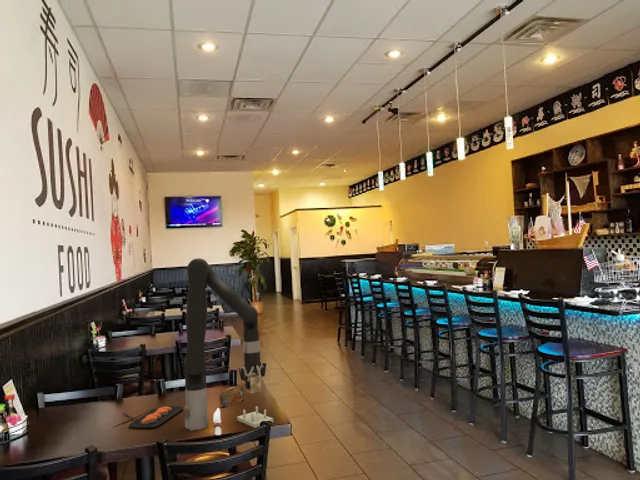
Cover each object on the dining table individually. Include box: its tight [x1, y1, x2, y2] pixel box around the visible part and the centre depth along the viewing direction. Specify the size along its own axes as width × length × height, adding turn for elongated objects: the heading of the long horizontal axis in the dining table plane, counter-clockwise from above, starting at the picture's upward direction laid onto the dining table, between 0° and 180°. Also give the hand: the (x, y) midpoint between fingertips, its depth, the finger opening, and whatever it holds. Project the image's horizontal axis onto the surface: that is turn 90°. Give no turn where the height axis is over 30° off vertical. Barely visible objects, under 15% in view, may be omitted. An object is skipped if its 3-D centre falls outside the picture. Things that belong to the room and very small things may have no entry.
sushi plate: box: [111, 405, 184, 429], centre depth 239 cm, size 29×30×4 cm
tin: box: [218, 385, 245, 408], centre depth 256 cm, size 15×3×8 cm, turn 143°
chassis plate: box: [236, 406, 274, 429], centre depth 228 cm, size 10×15×5 cm, turn 40°
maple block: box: [245, 373, 262, 394], centre depth 228 cm, size 5×5×7 cm
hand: (253, 387), depth 228 cm, fingers closed on maple block, 5 cm apart
